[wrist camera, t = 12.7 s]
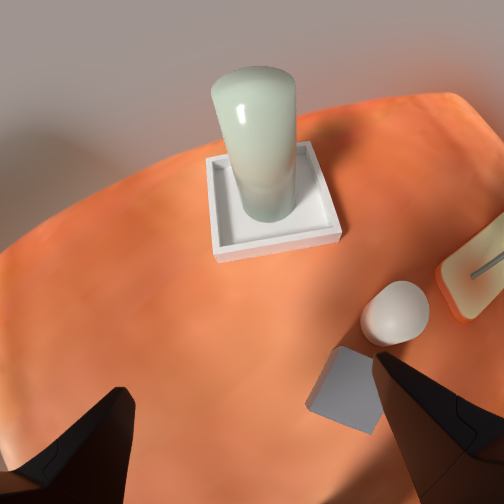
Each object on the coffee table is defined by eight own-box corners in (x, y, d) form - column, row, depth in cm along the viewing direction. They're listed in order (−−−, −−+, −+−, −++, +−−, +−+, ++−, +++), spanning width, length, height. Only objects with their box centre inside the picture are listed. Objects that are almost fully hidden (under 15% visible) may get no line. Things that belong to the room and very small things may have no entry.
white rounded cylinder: (413, 311, 22) (437, 298, 18) (392, 355, 21) (414, 351, 16) (374, 287, 23) (391, 270, 19) (351, 331, 22) (365, 322, 18)
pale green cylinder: (300, 183, 27) (302, 69, 16) (289, 227, 26) (285, 113, 14) (250, 174, 29) (227, 65, 17) (234, 216, 27) (197, 107, 15)
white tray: (338, 242, 25) (342, 232, 23) (218, 263, 26) (213, 254, 24) (309, 153, 30) (310, 140, 28) (210, 170, 30) (205, 158, 28)
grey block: (383, 371, 20) (401, 371, 17) (357, 424, 19) (370, 434, 15) (332, 349, 22) (341, 345, 18) (304, 403, 20) (308, 410, 16)
